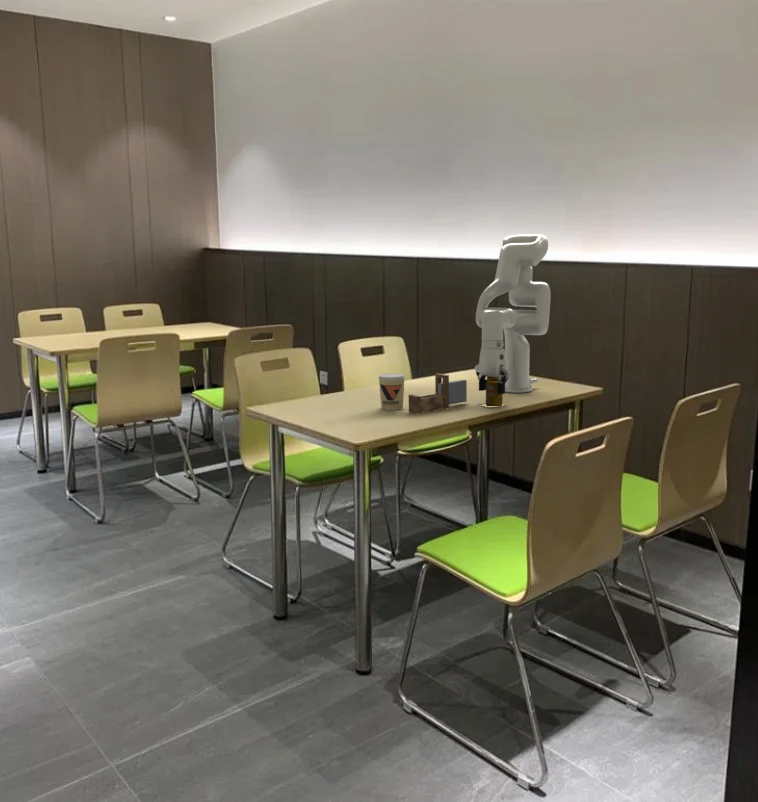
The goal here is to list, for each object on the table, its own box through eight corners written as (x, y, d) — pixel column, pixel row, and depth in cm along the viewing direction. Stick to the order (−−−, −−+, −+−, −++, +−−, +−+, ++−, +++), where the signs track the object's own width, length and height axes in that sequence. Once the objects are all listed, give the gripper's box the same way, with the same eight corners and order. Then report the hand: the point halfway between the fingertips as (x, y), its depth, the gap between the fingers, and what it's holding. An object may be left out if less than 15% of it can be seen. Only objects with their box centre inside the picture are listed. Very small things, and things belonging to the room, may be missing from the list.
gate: (463, 400, 289) (463, 379, 288) (466, 401, 288) (466, 380, 287) (438, 405, 283) (438, 383, 281) (441, 406, 281) (440, 384, 280)
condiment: (507, 405, 284) (508, 372, 281) (489, 408, 279) (490, 375, 277) (494, 402, 290) (494, 370, 287) (476, 405, 285) (476, 372, 283)
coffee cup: (377, 410, 280) (376, 377, 278) (381, 405, 289) (380, 372, 287) (403, 411, 279) (403, 377, 276) (406, 405, 288) (406, 373, 285)
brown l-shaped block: (439, 405, 286) (438, 373, 283) (448, 408, 281) (448, 375, 279) (408, 411, 278) (407, 377, 275) (417, 414, 273) (417, 379, 271)
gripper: (517, 346, 275) (516, 394, 278) (483, 341, 289) (483, 387, 292) (501, 347, 271) (500, 396, 274) (468, 343, 285) (467, 390, 288)
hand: (491, 392), depth 283 cm, fingers open, 9 cm apart
